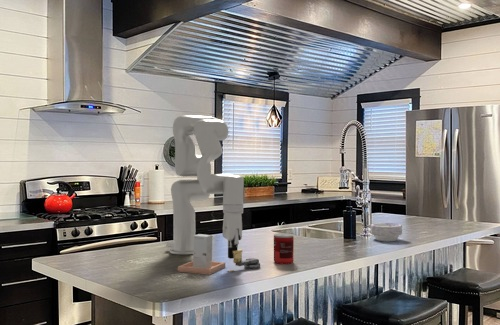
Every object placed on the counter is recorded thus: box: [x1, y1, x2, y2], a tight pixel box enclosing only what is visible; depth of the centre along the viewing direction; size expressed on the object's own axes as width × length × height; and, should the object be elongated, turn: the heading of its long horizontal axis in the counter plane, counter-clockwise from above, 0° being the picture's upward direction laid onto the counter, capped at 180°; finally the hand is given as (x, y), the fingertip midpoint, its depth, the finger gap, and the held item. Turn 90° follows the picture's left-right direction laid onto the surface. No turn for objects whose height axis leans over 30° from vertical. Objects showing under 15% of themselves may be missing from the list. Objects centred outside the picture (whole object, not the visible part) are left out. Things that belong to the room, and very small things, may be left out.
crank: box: [233, 249, 260, 267], centre depth 188 cm, size 12×5×6 cm, turn 134°
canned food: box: [273, 232, 295, 265], centre depth 199 cm, size 8×8×11 cm
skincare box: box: [192, 233, 213, 269], centre depth 187 cm, size 6×4×12 cm
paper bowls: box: [370, 222, 403, 242], centre depth 253 cm, size 15×15×8 cm
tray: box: [177, 260, 226, 275], centre depth 187 cm, size 13×13×2 cm
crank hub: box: [243, 262, 261, 270], centre depth 190 cm, size 6×6×1 cm
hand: (232, 257), depth 188 cm, fingers closed
